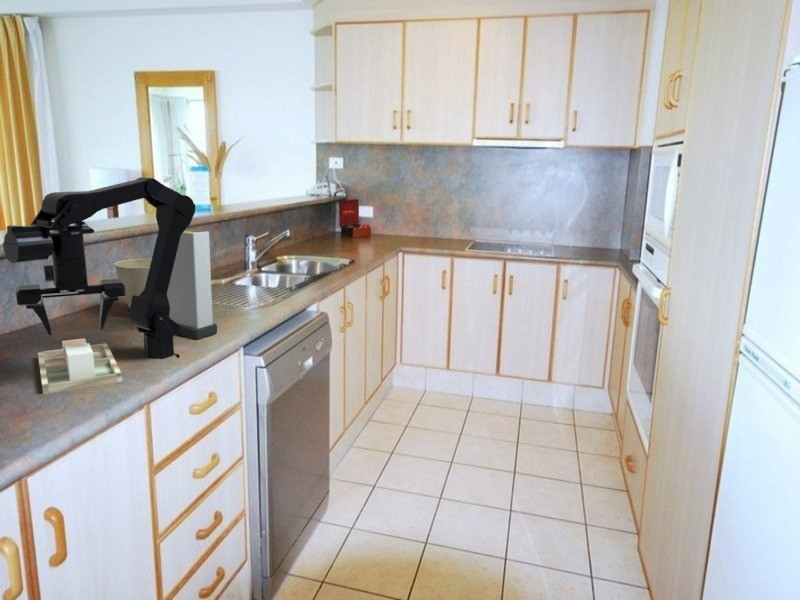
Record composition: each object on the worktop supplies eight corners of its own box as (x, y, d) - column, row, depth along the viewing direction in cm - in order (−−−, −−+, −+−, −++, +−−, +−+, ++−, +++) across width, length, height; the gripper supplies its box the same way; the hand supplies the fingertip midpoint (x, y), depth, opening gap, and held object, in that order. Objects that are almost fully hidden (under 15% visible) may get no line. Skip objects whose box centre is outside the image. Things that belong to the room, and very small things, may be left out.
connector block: (91, 369, 121) (89, 342, 119) (95, 379, 115) (93, 352, 114) (67, 372, 118) (64, 346, 117) (70, 383, 113) (67, 355, 111)
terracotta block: (88, 362, 125) (86, 343, 124) (65, 366, 123) (63, 346, 122) (86, 356, 129) (84, 338, 128) (63, 359, 126) (61, 340, 125)
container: (182, 333, 160) (164, 228, 155) (229, 333, 151) (211, 222, 146) (161, 339, 153) (141, 230, 149) (208, 340, 144) (188, 224, 140)
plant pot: (107, 317, 163) (102, 264, 160) (144, 306, 177) (140, 257, 173) (149, 323, 159) (145, 269, 155) (183, 311, 173) (181, 261, 169)
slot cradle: (122, 385, 116) (121, 374, 116) (43, 398, 108) (42, 386, 108) (107, 353, 135) (106, 343, 134) (38, 362, 127) (37, 351, 126)
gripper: (114, 249, 122) (120, 317, 126) (12, 253, 112) (21, 327, 116) (123, 256, 114) (128, 330, 117) (12, 262, 103) (22, 342, 107)
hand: (76, 331), depth 114 cm, fingers open, 9 cm apart
